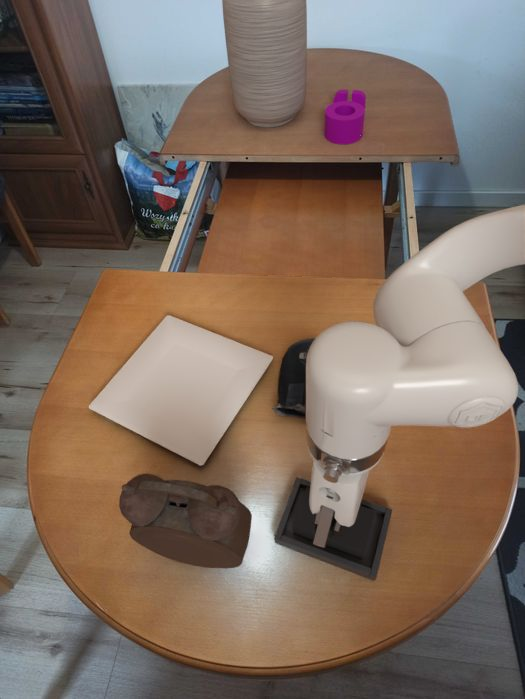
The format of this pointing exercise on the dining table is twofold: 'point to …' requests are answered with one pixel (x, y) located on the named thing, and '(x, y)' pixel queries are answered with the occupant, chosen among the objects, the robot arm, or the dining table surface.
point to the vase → (267, 58)
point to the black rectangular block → (351, 537)
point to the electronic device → (293, 380)
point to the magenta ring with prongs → (345, 117)
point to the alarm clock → (187, 520)
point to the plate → (182, 387)
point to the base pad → (329, 555)
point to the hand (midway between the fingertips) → (336, 502)
